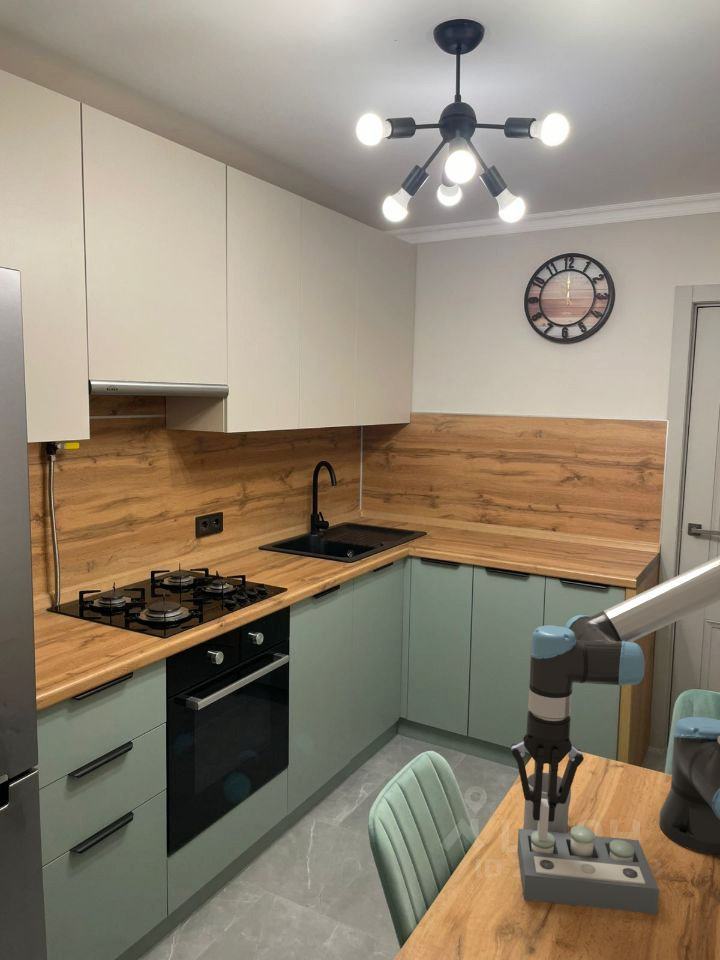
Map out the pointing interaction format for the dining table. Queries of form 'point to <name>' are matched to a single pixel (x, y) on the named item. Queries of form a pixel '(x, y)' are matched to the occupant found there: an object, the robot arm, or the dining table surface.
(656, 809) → the dining table surface
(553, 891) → the button board
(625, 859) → the button
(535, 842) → the button
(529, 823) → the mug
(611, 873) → the card
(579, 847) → the button mid
